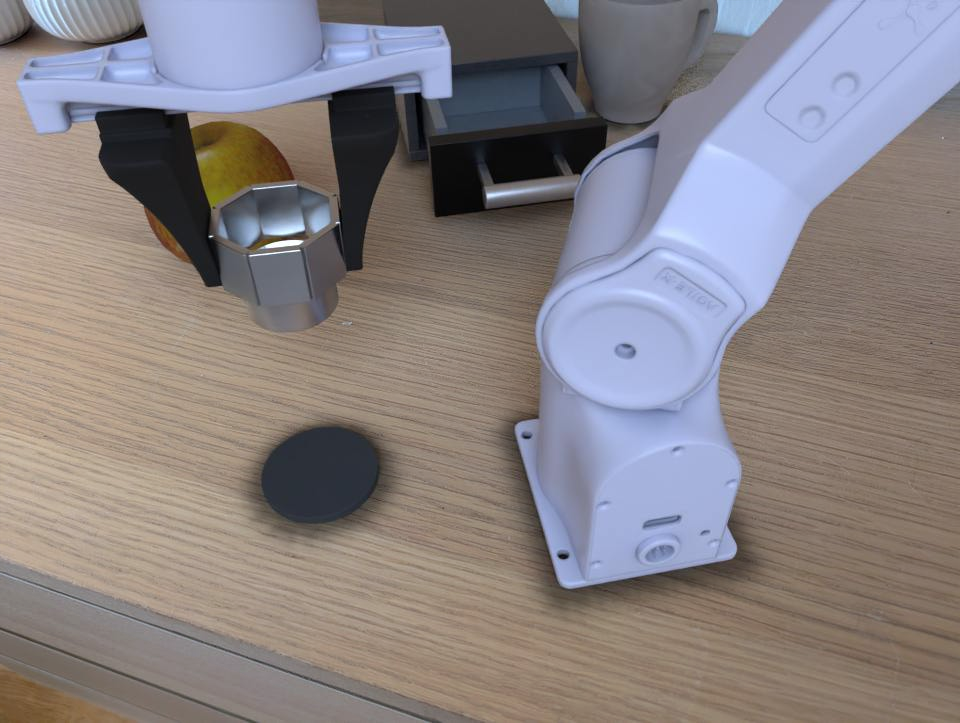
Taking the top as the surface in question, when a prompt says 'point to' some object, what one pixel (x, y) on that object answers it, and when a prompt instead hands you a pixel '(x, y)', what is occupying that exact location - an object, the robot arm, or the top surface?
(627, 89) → the mug
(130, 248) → the top surface
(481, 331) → the top surface
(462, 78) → the drawer
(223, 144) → the fruit
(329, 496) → the coaster
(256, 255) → the silver hollow octagonal piece
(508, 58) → the cabinet
